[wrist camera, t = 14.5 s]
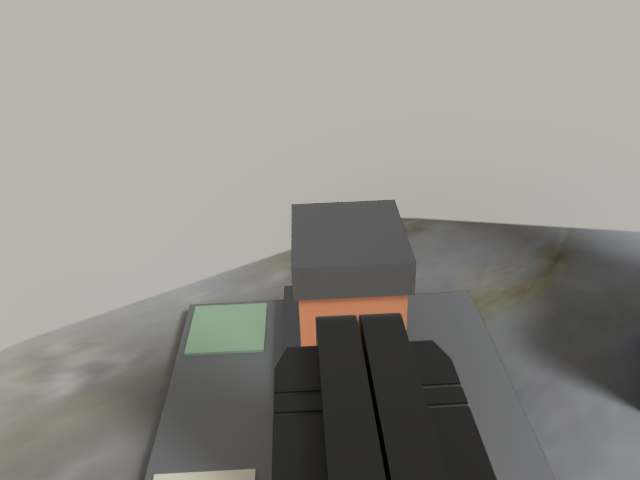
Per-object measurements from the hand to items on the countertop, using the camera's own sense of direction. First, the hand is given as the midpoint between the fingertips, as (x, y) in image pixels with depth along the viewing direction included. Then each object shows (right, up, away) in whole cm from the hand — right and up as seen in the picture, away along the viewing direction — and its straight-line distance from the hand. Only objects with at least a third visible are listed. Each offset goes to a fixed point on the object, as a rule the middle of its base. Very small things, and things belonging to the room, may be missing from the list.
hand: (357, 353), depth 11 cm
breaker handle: (+1, -10, +16) cm, 19 cm away
